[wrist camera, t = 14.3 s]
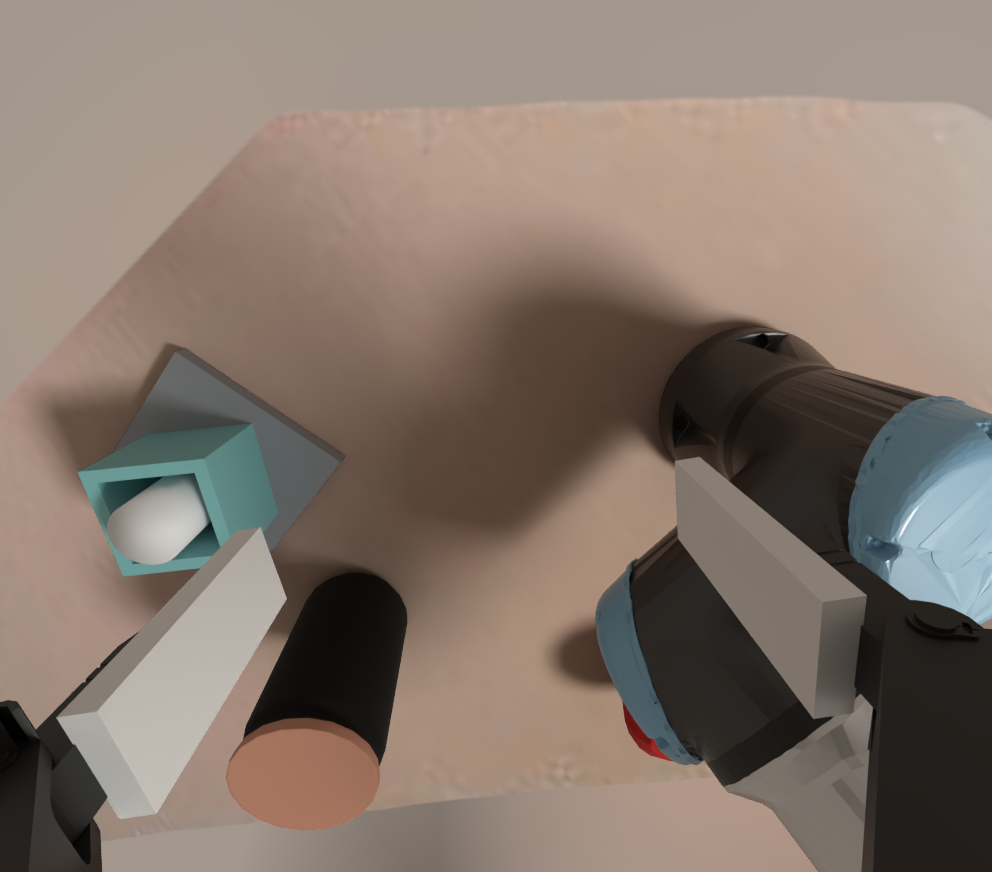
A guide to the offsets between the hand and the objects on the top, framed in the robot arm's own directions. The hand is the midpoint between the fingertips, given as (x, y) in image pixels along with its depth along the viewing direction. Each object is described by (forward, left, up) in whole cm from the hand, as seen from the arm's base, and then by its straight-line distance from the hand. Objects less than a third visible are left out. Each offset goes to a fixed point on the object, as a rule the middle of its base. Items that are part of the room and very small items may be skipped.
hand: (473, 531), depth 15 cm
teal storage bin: (+12, +23, -27) cm, 37 cm away
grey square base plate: (+12, +23, -29) cm, 38 cm away
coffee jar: (-7, +29, -29) cm, 41 cm away
